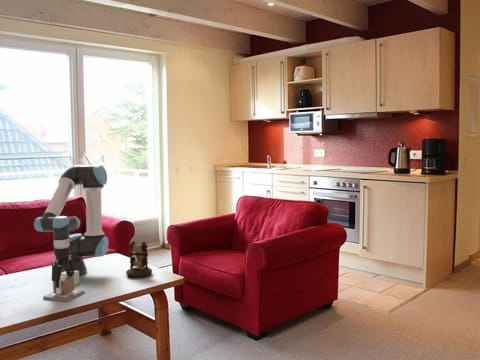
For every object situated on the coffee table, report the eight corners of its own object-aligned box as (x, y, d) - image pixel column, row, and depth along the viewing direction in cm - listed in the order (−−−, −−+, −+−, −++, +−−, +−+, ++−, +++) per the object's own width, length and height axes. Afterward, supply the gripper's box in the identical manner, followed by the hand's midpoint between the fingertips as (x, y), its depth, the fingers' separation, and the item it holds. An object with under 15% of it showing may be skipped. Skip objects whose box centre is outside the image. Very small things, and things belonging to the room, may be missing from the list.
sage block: (60, 285, 256) (60, 273, 255) (69, 282, 263) (68, 269, 262) (71, 287, 254) (70, 274, 253) (79, 283, 260) (79, 270, 260)
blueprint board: (43, 299, 234) (43, 296, 234) (62, 290, 248) (62, 287, 248) (66, 301, 230) (66, 299, 230) (84, 292, 243) (84, 290, 243)
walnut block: (53, 293, 237) (52, 279, 236) (62, 289, 243) (62, 275, 242) (65, 294, 234) (64, 281, 234) (74, 290, 241) (73, 277, 240)
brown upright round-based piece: (156, 272, 279) (155, 239, 277) (145, 279, 265) (144, 245, 263) (133, 270, 283) (132, 238, 281) (121, 278, 268) (120, 243, 266)
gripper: (54, 252, 226) (56, 298, 228) (80, 243, 245) (82, 285, 247) (41, 251, 228) (44, 296, 230) (68, 242, 247) (70, 284, 249)
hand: (64, 291), depth 239 cm, fingers closed on walnut block, 7 cm apart
